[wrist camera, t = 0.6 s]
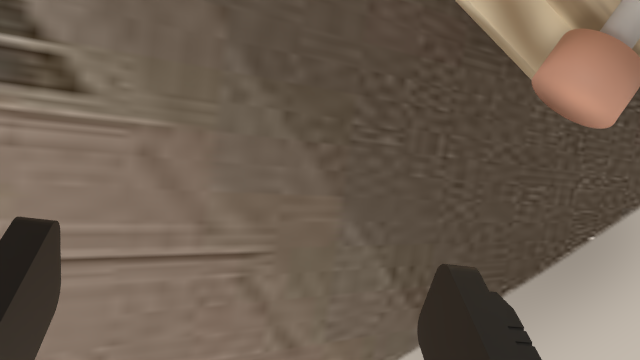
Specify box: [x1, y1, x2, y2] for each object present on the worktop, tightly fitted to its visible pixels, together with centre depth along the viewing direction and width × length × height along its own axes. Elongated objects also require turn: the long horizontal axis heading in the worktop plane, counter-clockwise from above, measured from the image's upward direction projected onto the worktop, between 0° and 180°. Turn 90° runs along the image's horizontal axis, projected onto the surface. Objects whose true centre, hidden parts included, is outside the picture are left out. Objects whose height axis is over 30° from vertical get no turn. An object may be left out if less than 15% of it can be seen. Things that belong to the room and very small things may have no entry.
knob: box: [532, 0, 640, 129], centre depth 33 cm, size 13×5×5 cm, turn 141°
